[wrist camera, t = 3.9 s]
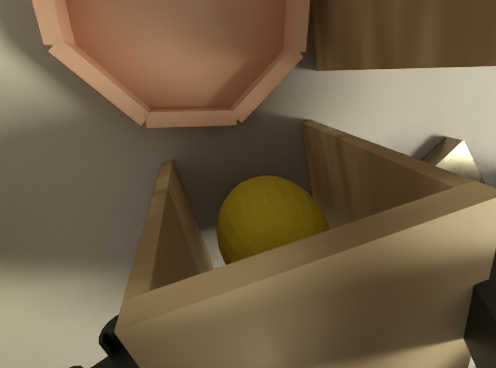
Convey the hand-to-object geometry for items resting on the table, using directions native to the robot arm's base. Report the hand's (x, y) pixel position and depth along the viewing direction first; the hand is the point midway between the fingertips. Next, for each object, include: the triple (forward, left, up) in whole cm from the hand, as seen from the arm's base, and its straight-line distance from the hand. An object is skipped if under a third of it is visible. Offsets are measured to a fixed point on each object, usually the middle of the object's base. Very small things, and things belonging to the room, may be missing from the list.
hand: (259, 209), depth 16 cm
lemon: (0, 0, -2) cm, 2 cm away
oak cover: (0, 0, -2) cm, 2 cm away
